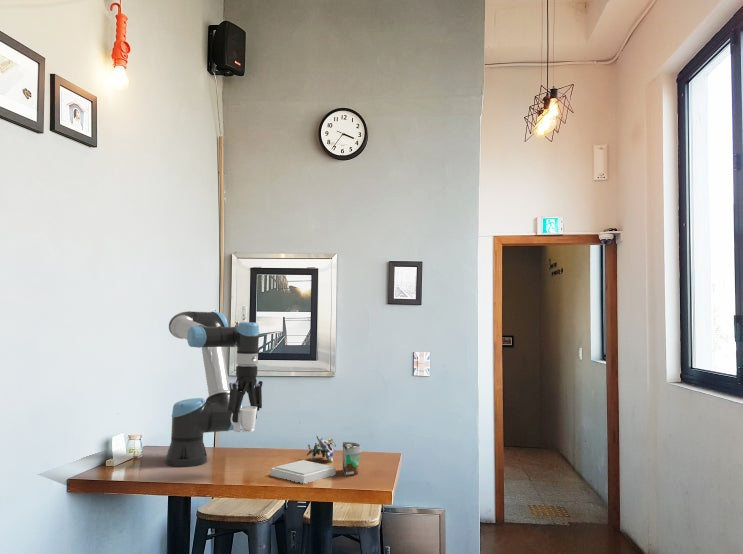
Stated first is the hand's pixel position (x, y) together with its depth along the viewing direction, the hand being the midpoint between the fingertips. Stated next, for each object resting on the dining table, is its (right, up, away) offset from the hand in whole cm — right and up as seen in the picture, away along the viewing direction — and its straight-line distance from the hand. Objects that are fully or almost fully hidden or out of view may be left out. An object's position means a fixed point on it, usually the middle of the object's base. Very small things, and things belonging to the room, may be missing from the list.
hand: (244, 430), depth 215 cm
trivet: (+21, -15, -3) cm, 26 cm away
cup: (0, 0, 0) cm, 0 cm away
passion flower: (+26, -17, +19) cm, 36 cm away
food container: (+39, -16, +1) cm, 42 cm away
